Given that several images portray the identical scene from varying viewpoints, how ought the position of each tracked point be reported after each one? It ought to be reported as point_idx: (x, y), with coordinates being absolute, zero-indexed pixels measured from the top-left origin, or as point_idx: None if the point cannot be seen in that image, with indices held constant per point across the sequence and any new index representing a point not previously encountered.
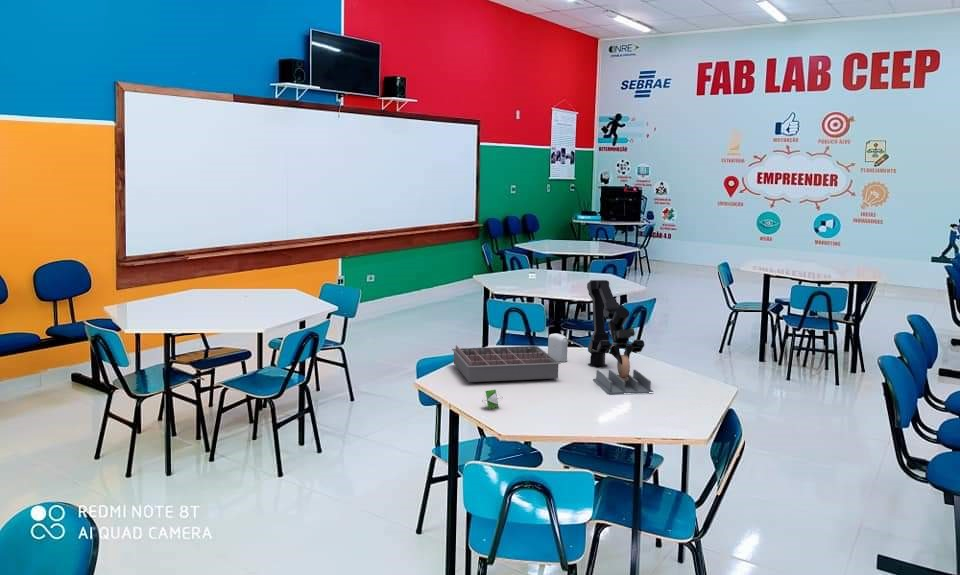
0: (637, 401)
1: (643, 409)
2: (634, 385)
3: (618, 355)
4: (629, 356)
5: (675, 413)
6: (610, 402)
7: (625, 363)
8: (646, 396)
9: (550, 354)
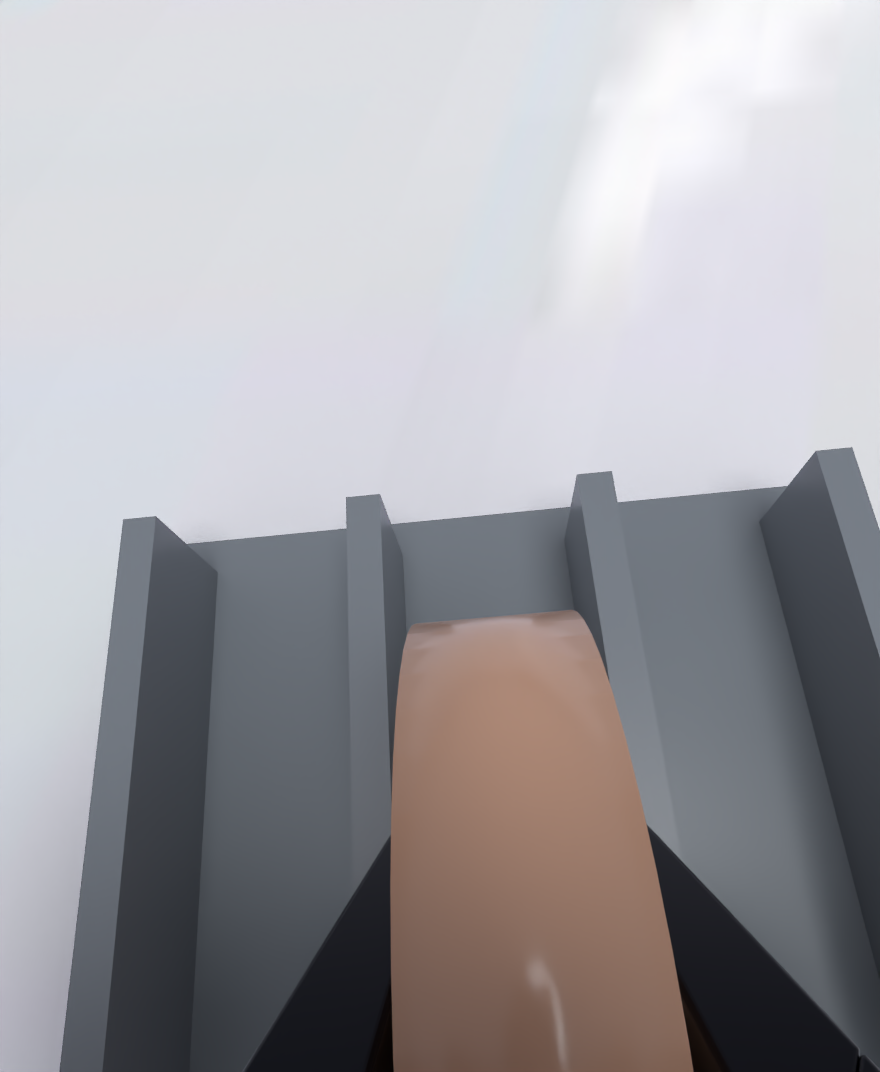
0: (479, 274)
1: (489, 83)
2: (395, 586)
3: (859, 1067)
4: (260, 1042)
5: (245, 29)
6: (795, 228)
7: (548, 620)
8: (312, 441)
9: None
